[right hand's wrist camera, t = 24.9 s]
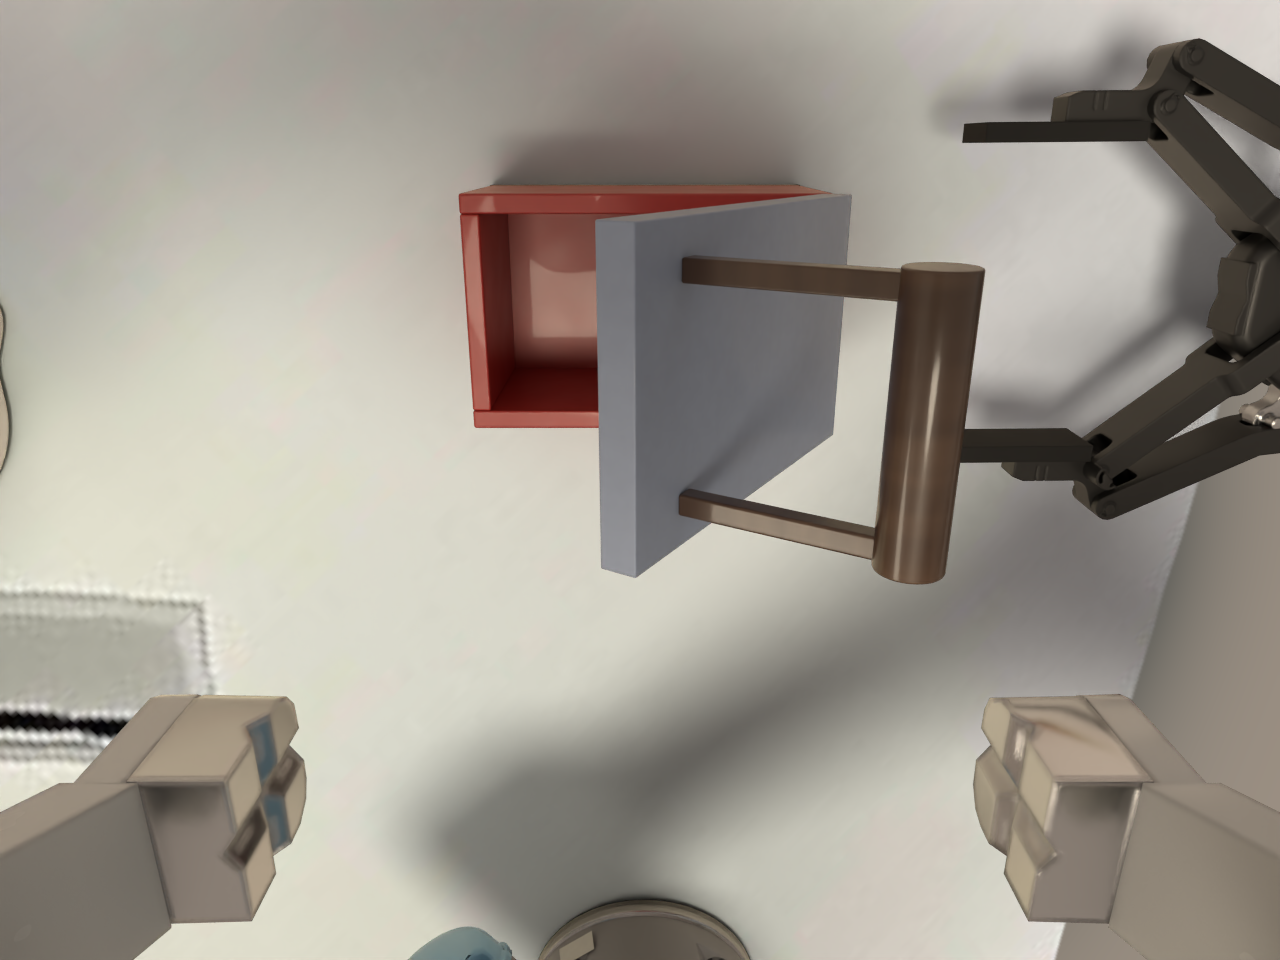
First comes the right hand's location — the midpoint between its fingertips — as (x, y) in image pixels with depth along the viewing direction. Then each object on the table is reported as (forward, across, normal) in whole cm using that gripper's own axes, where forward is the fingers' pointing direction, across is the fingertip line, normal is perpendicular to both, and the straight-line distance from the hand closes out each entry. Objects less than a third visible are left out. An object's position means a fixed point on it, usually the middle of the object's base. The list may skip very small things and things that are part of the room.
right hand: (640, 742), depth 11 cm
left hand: (+31, +14, 0) cm, 34 cm away
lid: (+21, +3, 0) cm, 22 cm away
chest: (+37, 0, 0) cm, 37 cm away
